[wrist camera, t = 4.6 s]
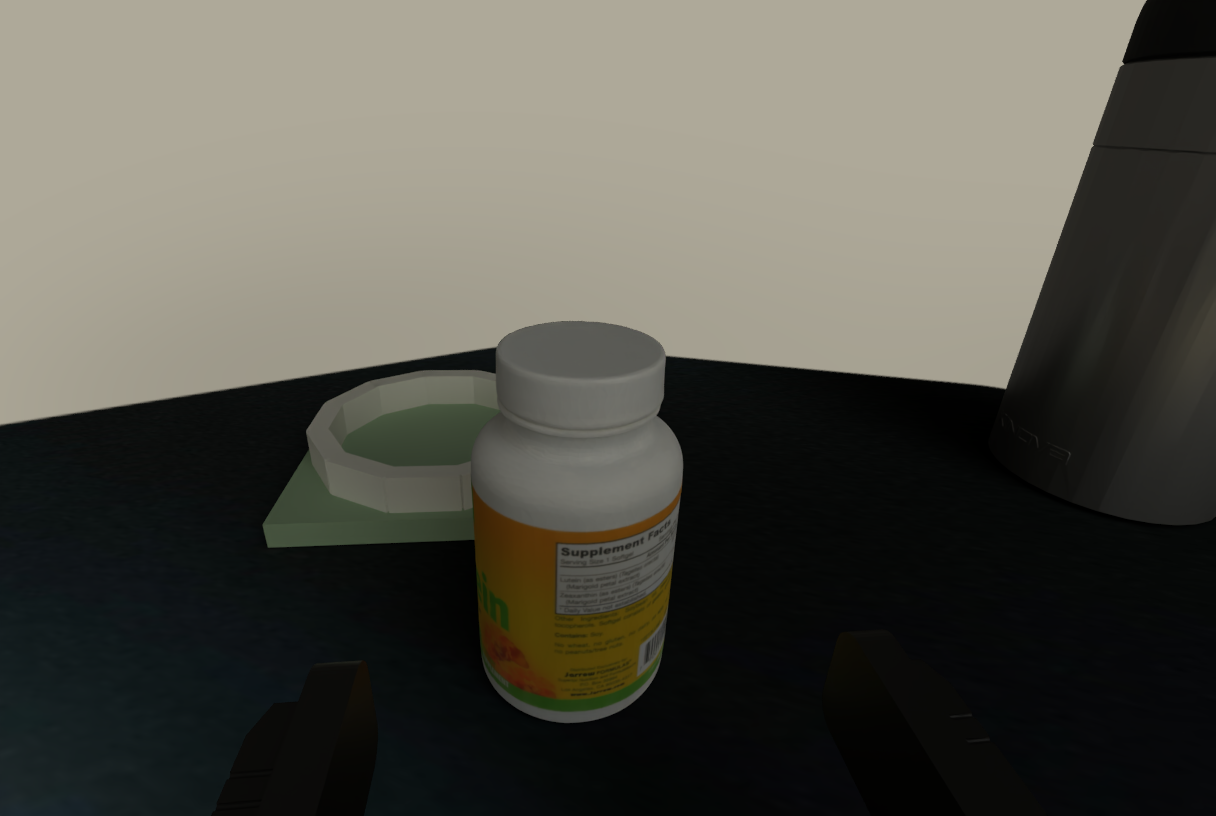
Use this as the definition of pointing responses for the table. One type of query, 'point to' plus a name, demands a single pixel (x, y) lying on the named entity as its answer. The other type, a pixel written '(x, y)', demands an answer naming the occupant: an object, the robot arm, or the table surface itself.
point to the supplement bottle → (575, 519)
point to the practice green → (388, 463)
